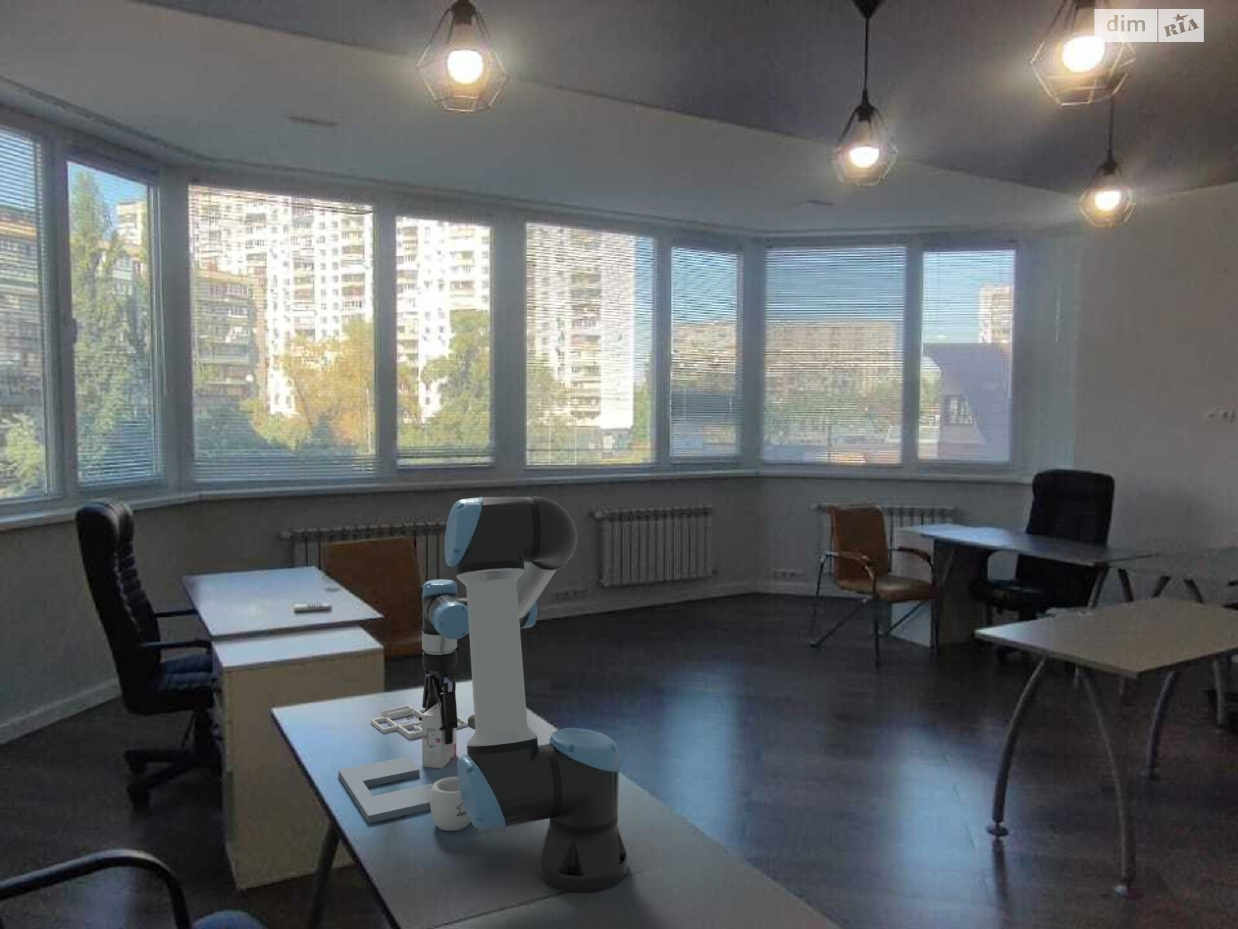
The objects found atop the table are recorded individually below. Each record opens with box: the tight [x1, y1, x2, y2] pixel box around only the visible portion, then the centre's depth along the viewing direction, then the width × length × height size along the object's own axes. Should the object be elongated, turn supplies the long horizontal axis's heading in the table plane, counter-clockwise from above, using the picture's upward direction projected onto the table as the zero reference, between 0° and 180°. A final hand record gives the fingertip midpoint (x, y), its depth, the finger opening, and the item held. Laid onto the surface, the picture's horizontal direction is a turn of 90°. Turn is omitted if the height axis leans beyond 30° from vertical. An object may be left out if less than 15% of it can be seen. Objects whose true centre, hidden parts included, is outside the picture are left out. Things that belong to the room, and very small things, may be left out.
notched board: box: [338, 756, 434, 824], centre depth 176 cm, size 24×15×2 cm, turn 31°
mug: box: [430, 776, 471, 832], centre depth 163 cm, size 12×8×8 cm
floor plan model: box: [370, 704, 469, 740], centre depth 213 cm, size 19×25×2 cm
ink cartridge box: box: [421, 703, 458, 769], centre depth 191 cm, size 9×5×15 cm, turn 168°
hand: (439, 749), depth 192 cm, fingers closed on ink cartridge box, 9 cm apart
